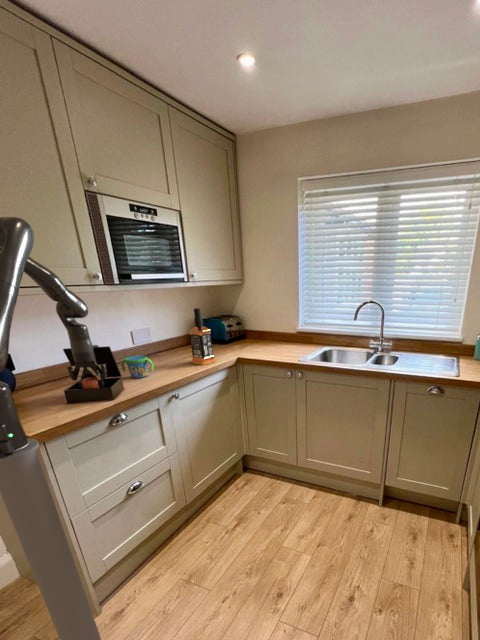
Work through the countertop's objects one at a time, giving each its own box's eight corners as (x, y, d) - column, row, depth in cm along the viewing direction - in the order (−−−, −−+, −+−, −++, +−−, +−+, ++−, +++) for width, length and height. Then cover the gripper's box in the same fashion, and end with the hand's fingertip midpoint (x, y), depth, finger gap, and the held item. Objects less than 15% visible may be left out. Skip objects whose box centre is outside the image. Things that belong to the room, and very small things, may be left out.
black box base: (113, 400, 141) (110, 387, 139) (67, 403, 137) (63, 390, 135) (124, 388, 155) (121, 377, 153) (82, 392, 151) (79, 379, 149)
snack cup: (159, 374, 178) (155, 355, 175) (148, 379, 168) (145, 360, 165) (131, 373, 179) (127, 355, 176) (119, 379, 169) (115, 360, 166)
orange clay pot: (98, 393, 140) (95, 380, 138) (81, 394, 138) (78, 381, 136) (103, 388, 146) (100, 376, 144) (87, 389, 144) (84, 377, 142)
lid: (109, 347, 141) (111, 340, 145) (62, 349, 137) (66, 342, 141) (121, 376, 153) (123, 369, 156) (78, 379, 149) (81, 372, 152)
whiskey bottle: (215, 361, 203) (209, 308, 192) (204, 365, 195) (197, 309, 184) (203, 359, 208) (196, 307, 197) (191, 363, 200) (183, 308, 188)
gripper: (58, 353, 131) (70, 392, 137) (98, 351, 134) (108, 389, 140) (67, 349, 138) (77, 387, 144) (105, 347, 141) (113, 384, 147)
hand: (92, 388), depth 142 cm, fingers closed on orange clay pot, 6 cm apart
